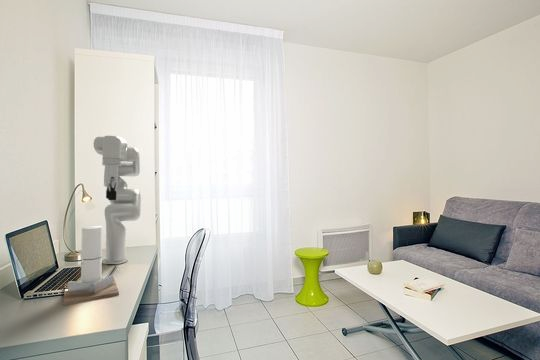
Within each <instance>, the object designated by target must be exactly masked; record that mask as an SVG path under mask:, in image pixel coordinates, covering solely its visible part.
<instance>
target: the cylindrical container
mask: <svg viewBox="0 0 540 360" xmlns="http://www.w3.org/2000/svg"><path fill="white" fill-rule="evenodd" d="M102 260H103V225H87V226H82V227H81V259H80V261H81V263H80V265H81V266H80V268H81V269H80V282H84V283H94V282H96V281H99V280H101V279H102V271H103V270H102V264H103V263H102Z"/></svg>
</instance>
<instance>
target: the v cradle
mask: <svg viewBox="0 0 540 360" xmlns="http://www.w3.org/2000/svg"><path fill="white" fill-rule="evenodd" d="M65 286H67V287H68V291H66V292H64V291H63V306H67V305H71V304H72V305H73V304H78V303H83V302H90V301H92V300H93V301H94V300H99V299H104V298H109V297H115V296H119V295H120V291H119V288H118V286H117V284H116V280H115V278H114V275H113V274H110V275H107V276H105V277H103V278H102V277H101V280H99V281H96V282H94V283H84V282H81V281H76V280H75V281H72V280H70V281H68V282H67V283H65V284H64V287H65Z"/></svg>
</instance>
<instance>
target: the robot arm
mask: <svg viewBox="0 0 540 360" xmlns="http://www.w3.org/2000/svg"><path fill="white" fill-rule="evenodd" d="M93 148H94V151H95V152H96V153H97V154H98V155H100V156H102V159H101V160H102V166H104V171H103V172H104V175H103V186H104V187H105V188H106V190H105V191H106V192H105V198H106V199H107V200H108V201H109V203H110V204H108V205H107V206H106V207H105V208H104V218H105V258H103V259H102V264H103V265H107V264H115V265H120V264H124V263H127V262H128V261H129V257H128V256H126V236H127V235H126V233H127V232H126V230H127V229H126V227H125V225H124V224H123V223H122V222H134V221H138V220H139V219H140V216H141V207H142V206H141V201H142V199H141V198H142V196H141V192H140V191H139V190H138V189H134V188H131V189H129V188H128V182H126V181H125V179H123V177H137V176H139V174H140V171H141V166H140V161H141V160H140V153H139V150H138V148H136V147H131V146H128V142H127V141H126V140H125V139H124V138H123V137H120V136H116V135H104V136H97V137H95V138H94V139H93Z"/></svg>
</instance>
